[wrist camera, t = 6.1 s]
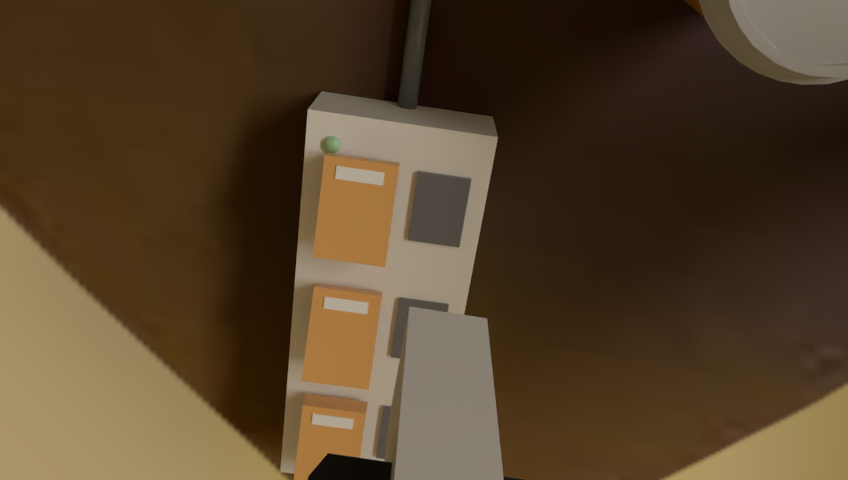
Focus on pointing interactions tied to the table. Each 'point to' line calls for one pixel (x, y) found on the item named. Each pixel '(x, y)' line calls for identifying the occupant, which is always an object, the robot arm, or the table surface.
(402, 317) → the power strip
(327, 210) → the orange block
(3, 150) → the table surface
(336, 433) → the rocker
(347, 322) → the orange block
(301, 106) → the table surface
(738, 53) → the disposable coffee cup
